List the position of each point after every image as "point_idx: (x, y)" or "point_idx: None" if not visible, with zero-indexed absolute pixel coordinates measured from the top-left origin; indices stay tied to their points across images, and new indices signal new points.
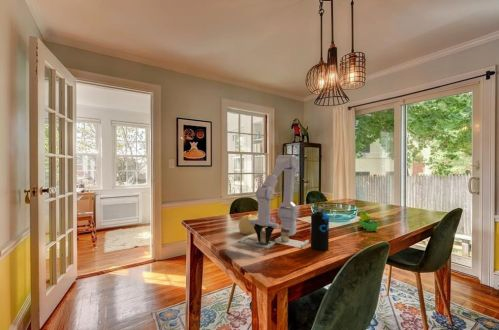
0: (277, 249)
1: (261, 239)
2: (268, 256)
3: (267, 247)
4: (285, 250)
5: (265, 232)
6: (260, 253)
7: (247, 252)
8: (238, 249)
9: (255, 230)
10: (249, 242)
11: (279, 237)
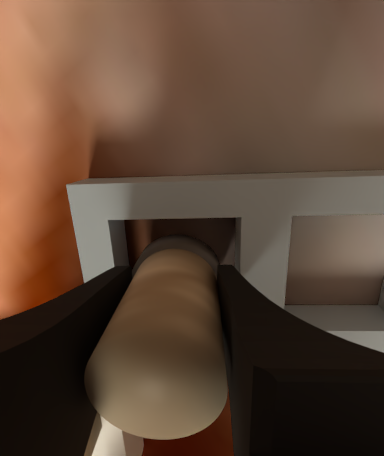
0: (61, 278)
1: (180, 267)
2: (10, 77)
3: (68, 184)
4: (2, 292)
5: (109, 367)
6: (115, 100)
7: (241, 33)
8: (379, 49)
9: (313, 331)
10: (324, 206)
11: (116, 445)
